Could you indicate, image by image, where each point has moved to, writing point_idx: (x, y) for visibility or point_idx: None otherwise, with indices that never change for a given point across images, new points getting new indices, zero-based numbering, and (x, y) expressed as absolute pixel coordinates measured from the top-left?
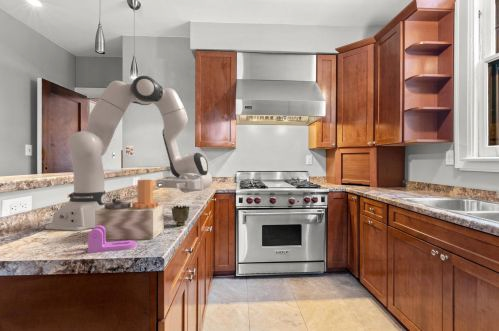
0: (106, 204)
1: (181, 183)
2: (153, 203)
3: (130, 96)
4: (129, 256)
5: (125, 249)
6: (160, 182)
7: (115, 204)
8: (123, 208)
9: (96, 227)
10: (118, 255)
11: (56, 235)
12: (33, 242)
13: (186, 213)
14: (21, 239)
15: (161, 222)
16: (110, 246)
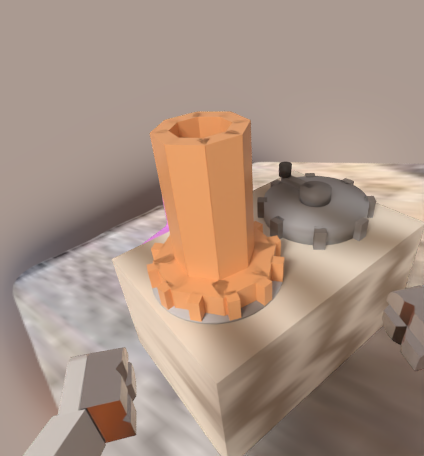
0: (310, 176)
1: (35, 447)
2: (158, 266)
3: None
4: (86, 250)
5: None
6: (414, 311)
7: (286, 189)
8: (257, 214)
9: None
10: (114, 241)
11: (407, 210)
12: (357, 183)
13: None
14: (404, 176)
15: (198, 406)
16: (158, 234)
